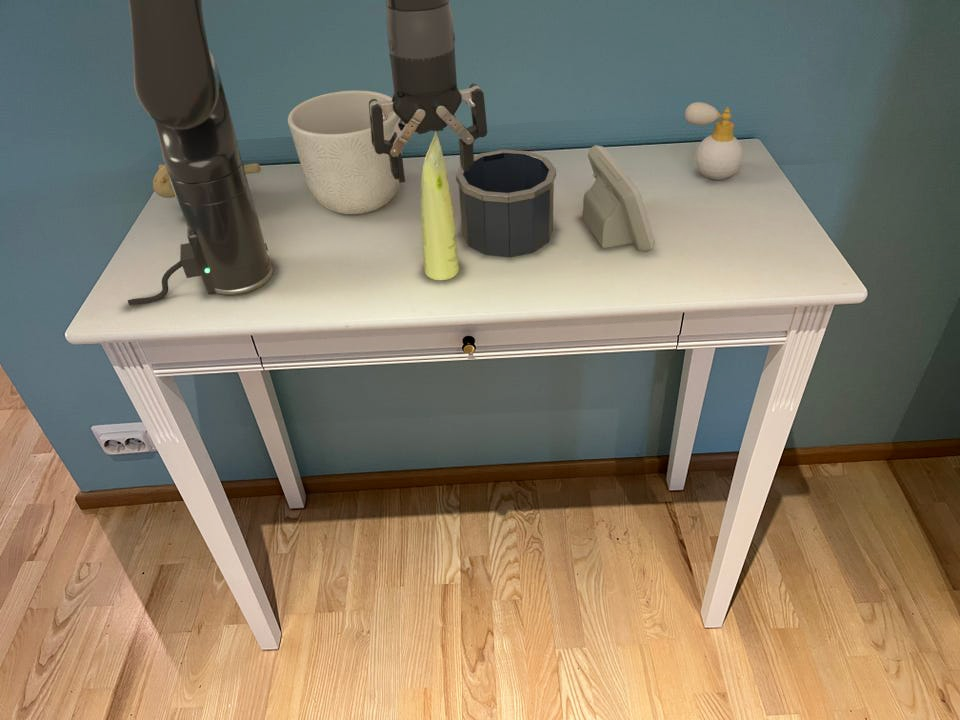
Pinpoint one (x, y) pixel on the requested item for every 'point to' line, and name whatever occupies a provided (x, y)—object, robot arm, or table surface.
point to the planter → (343, 151)
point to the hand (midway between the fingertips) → (433, 174)
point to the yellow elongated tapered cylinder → (437, 217)
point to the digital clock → (615, 205)
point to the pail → (507, 202)
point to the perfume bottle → (715, 142)
